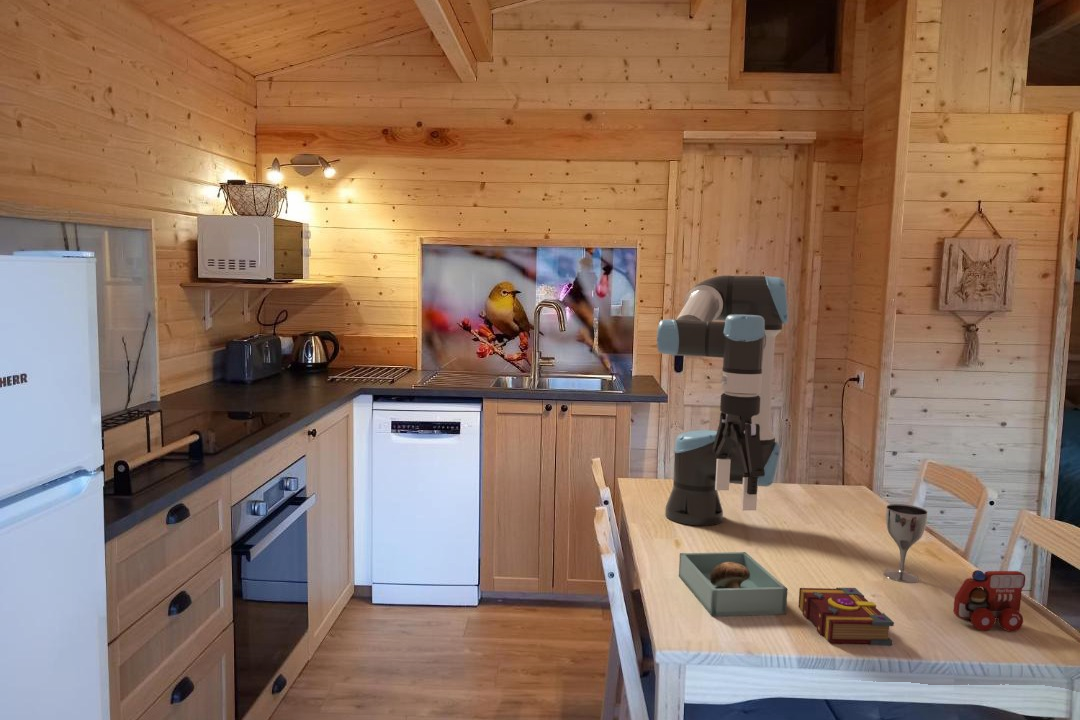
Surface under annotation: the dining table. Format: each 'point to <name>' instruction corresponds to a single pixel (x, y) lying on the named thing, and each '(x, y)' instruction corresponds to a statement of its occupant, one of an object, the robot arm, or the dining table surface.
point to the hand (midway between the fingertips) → (734, 499)
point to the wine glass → (904, 535)
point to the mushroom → (729, 575)
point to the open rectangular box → (751, 599)
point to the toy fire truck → (991, 599)
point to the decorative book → (845, 616)
